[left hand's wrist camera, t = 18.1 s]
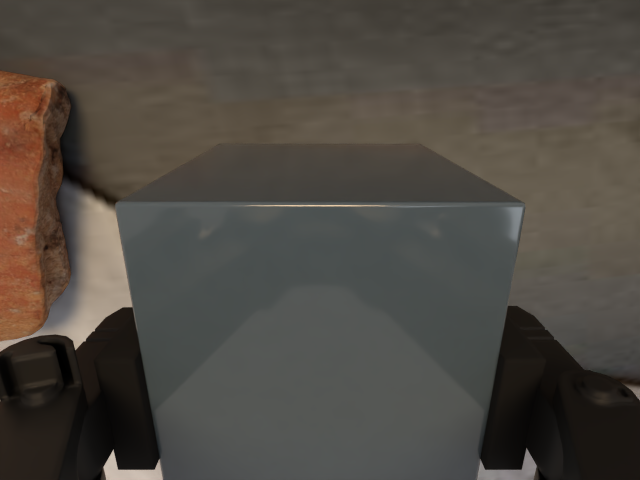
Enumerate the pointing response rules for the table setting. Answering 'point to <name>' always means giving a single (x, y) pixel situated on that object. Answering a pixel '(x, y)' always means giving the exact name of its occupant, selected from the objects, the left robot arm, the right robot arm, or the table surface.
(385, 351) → the grey cube
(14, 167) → the ceramic shard
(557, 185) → the table surface
